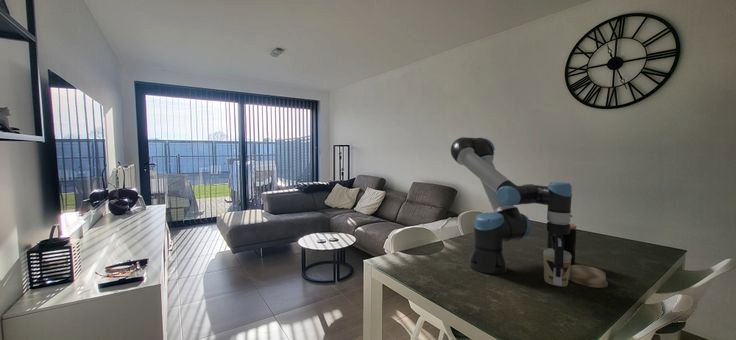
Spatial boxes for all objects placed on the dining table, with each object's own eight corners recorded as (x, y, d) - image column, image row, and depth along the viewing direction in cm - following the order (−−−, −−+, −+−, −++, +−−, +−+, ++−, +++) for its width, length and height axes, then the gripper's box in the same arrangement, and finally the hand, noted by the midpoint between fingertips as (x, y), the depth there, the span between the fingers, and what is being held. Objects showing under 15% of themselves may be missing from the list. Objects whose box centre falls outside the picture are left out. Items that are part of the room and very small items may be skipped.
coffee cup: (544, 284, 110) (545, 253, 110) (539, 275, 119) (541, 246, 118) (573, 289, 107) (575, 257, 106) (566, 279, 116) (568, 249, 115)
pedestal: (569, 283, 112) (569, 272, 112) (564, 271, 124) (565, 262, 124) (612, 290, 106) (612, 280, 106) (603, 277, 118) (603, 267, 117)
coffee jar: (579, 268, 127) (581, 227, 126) (552, 266, 129) (554, 226, 128) (567, 259, 137) (569, 222, 136) (543, 258, 140) (544, 221, 139)
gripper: (574, 229, 101) (571, 293, 102) (566, 218, 119) (563, 271, 121) (549, 227, 104) (546, 288, 105) (545, 216, 123) (542, 268, 124)
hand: (555, 279), depth 113 cm, fingers closed on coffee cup, 9 cm apart
